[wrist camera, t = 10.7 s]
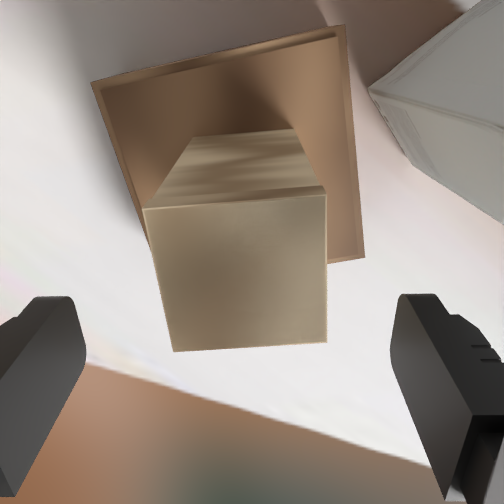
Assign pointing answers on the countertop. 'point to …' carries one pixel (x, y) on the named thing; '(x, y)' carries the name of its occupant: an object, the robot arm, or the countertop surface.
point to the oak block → (241, 243)
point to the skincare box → (454, 106)
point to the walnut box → (244, 117)
